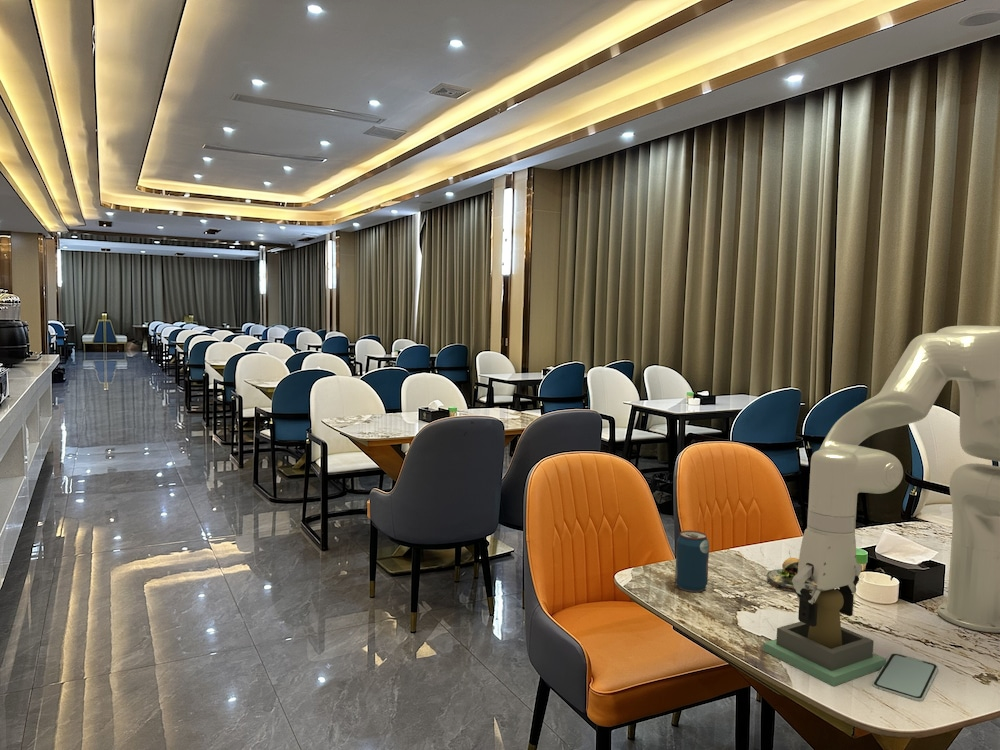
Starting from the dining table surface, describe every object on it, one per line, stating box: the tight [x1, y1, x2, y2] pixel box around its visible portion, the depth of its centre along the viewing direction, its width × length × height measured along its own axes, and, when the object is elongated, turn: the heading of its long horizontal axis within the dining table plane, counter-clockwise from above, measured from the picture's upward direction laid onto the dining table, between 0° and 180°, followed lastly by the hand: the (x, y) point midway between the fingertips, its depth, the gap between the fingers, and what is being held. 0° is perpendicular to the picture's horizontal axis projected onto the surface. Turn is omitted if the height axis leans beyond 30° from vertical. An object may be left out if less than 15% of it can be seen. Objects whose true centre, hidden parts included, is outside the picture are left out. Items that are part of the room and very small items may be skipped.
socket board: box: [762, 621, 887, 687], centre depth 124 cm, size 14×14×4 cm
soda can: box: [674, 530, 710, 593], centre depth 157 cm, size 7×7×12 cm
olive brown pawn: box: [807, 588, 844, 649], centre depth 124 cm, size 6×6×11 cm
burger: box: [766, 550, 817, 590], centre depth 161 cm, size 12×12×8 cm
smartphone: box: [871, 652, 939, 702], centre depth 119 cm, size 7×1×15 cm
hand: (825, 618), depth 124 cm, fingers open, 9 cm apart
